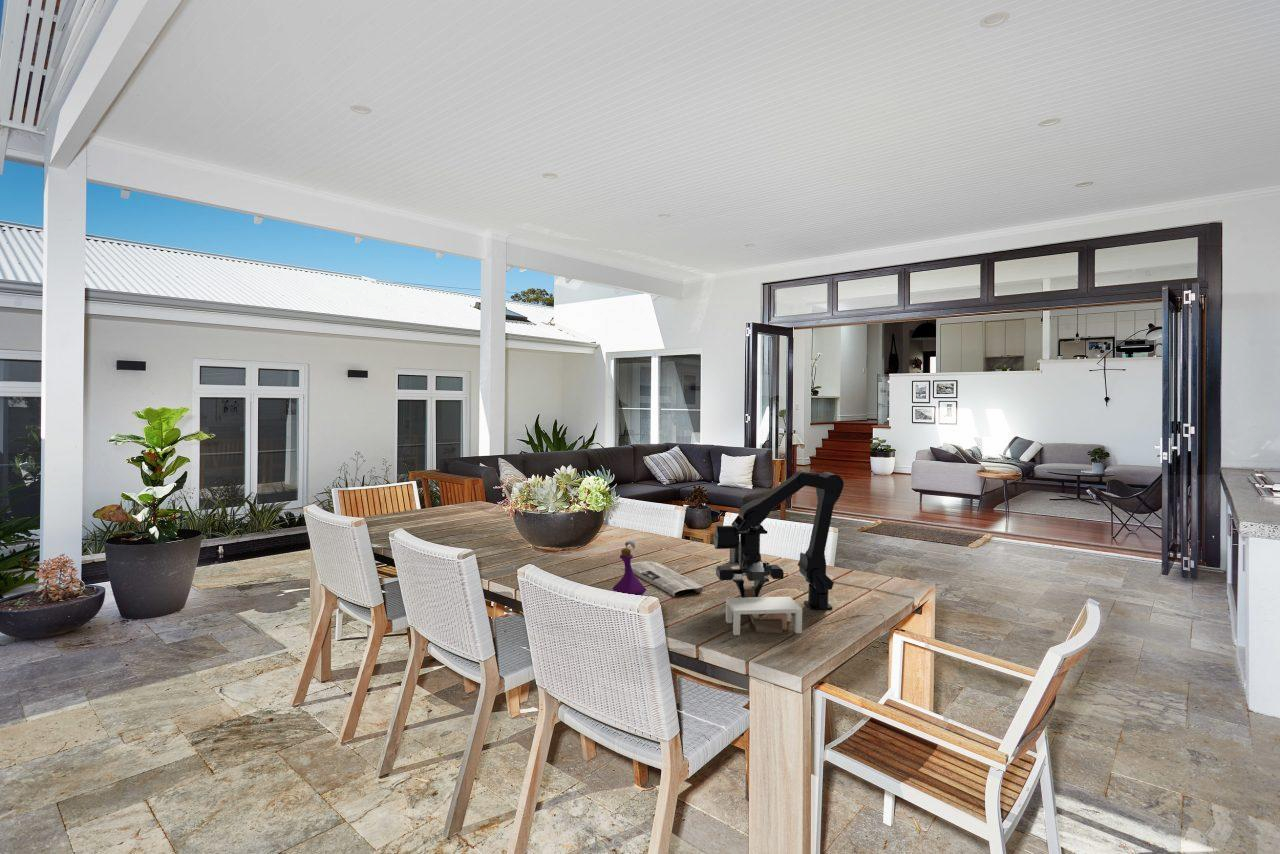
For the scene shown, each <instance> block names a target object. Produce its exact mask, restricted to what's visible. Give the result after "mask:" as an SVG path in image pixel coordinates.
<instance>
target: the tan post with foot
mask: <svg viewBox="0 0 1280 854" xmlns="http://www.w3.org/2000/svg"><path fill="white" fill-rule="evenodd" d="M748 597H755V588H754V585H744V598H748ZM748 616H749V619H750V621H751V623H752V626H753V628H754V630H755V633H758V634H759V633H763V634H764V633H768V634H771V633H772V634H775V633H777V634H782V633H783V630H782V620H781V619H768V618H760V614H748Z"/></svg>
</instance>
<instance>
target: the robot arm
mask: <svg viewBox="0 0 1280 854" xmlns="http://www.w3.org/2000/svg"><path fill="white" fill-rule="evenodd" d="M844 486H845V482H844V480H843V479H842V477H841V476H840V475H838V474H834V473H832V472H829V471H823V472H821V473H815V472H808V471H804V470H797V471H796V472H795V473H793V475H791V476H790V477H789V478H787V479H786V480H784V481H783V482H782V483H780V484H779V485H777V486H776V487H775V488H773V489H772V490H771V491H769V492H767V493H766V494H765V495H764V496H762V497H760V498H757V499H753V500H751V501H749V502H747V503H744V504H743V505H742V506H741V507H739V510H738V515H737V516H736V517H735V519H734V520H733V521H732V523H731V524H730V525H721V524H715V529H714V534H713V546H714V549H715V550H730V549H735V548H736V547H738V545H739V542H740V550H739V553H740V563H738V567H739V568H732V567H731V566H730V565H717V566H716V568H715V576H716V577H717V578H718V579H719V580H720V581H732V582H733V583H735V585H736V587H737V590H738V592H739V596H740V598H744V586H745V580H744V579H743V577H744V576H746V579H747V580H748V581H749V582H753V586H754V588H755V597H759V595H760V592H761V591H762V588H763V586H764V585H765V584H766V583H769V582H770V579H769V576H770V578H772V579H773V580H783V579H784V570H783V568H781V567H780V566H779V565H778V564H772V563H771V562H770V561H768V562H767V561H764V562H763V561H762V555H761V535H767V534H768V530H766V529H765V528H764V526H763V525H762V524H763V522H764V521H765V520H766V519H767V518H768V517H769V515H770V514H771V512H772V511H773V510H774V509H775V508H776V507H778V506H779V505H781V504H782V503H784V502H785V501H786V500H788V499H789V498H790V497H792V496H793V495H794V494H796V493H797V492H799V491H800V490H801V489H803V488H804V487H809V488H810V487H811V488H815V492H816V498H817V505H816V509H815V515H814V518H813V519H814V520H813V525H812V529H811V535H810V540H809V544H808V549H807V550H806V552H805V553H804V552H800V553H799V561H798V563H797V566H798V568H799V569H798V570H799V572H800V574H801V576H803V577H804V579H805V581H806V582H807V583H808V591H807V592H808V593H807V594H808V595H807V596H808V597H807V600H804V601H803V603H804V604H805V605H806V606H807V607H808V608H809V609H810V610H833V606H832V605H831V604H830V603H829V592H830V591H829V590H831V591H832V589H833V587H834V583H835V582H834V581H833V580H832V579H831V578H830V577H829V576H828V575H827V562H826V561H827V560H826V554H825V553H826V548H827V547H826V546H827V543H828V536H829V533H830V527H831V520H832V517H833V512H834V507H835V505H836V503H837V502H838V501H839V499H840V497H841V495H842V492H843V489H844Z"/></svg>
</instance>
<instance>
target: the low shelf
mask: <svg viewBox="0 0 1280 854" xmlns="http://www.w3.org/2000/svg"><path fill="white" fill-rule="evenodd" d="M770 613H786V614H787V623H788V622H792V614H794V625H793V626H794V627H793V630H794V631H793V632H795V634H803V608H802V607H801V605H799V603H797V602H796V601H795V600H794V599H793V598H792V597H791V596H758V597H748V598H741V597H726V598H725V623H726V622H727V623H726V624H732V634H733V635H734V636H741V615H749V614H758V615H762V614H763V615H764V614H767V615H768V614H770Z"/></svg>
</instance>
